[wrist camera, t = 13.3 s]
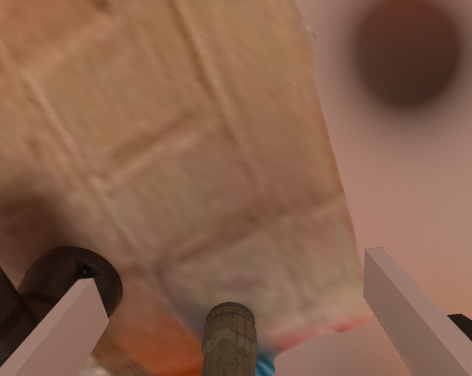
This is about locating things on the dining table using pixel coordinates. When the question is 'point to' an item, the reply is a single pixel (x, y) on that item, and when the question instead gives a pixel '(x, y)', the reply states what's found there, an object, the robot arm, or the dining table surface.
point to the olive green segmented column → (229, 341)
